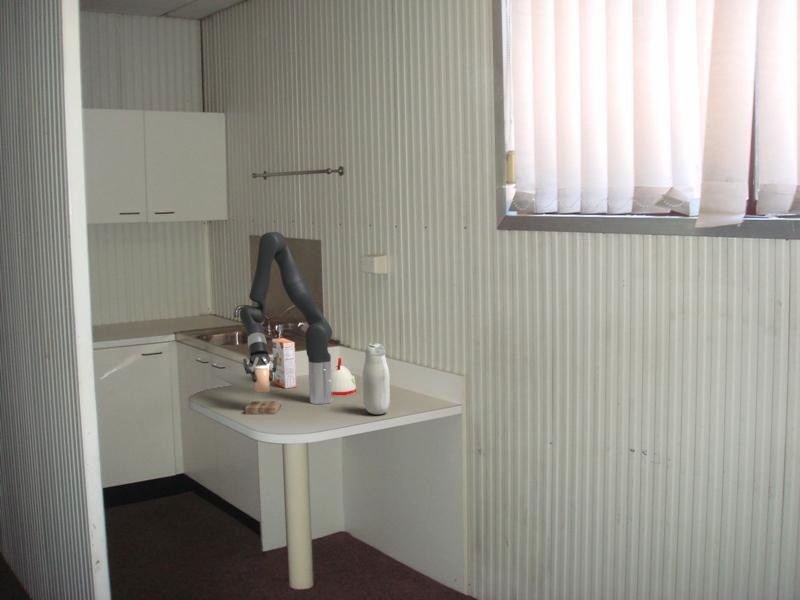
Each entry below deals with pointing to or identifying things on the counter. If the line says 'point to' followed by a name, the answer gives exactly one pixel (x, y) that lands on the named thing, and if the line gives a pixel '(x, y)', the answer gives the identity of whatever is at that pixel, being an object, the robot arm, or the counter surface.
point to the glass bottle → (376, 380)
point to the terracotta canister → (262, 378)
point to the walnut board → (263, 407)
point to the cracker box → (284, 362)
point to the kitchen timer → (342, 380)
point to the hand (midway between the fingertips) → (262, 380)
